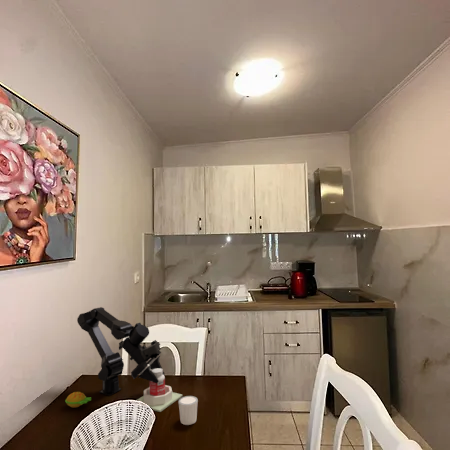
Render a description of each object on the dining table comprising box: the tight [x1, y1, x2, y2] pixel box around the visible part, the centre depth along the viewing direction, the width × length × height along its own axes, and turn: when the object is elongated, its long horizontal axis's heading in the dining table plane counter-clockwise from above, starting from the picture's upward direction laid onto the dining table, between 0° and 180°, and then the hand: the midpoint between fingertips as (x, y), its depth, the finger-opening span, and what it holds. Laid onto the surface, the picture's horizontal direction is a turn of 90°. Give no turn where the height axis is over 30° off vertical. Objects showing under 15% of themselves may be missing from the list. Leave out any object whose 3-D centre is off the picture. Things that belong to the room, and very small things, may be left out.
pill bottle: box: [148, 368, 166, 396], centre depth 129 cm, size 6×6×11 cm
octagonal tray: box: [136, 384, 183, 413], centre depth 128 cm, size 14×14×4 cm
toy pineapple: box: [64, 391, 92, 409], centre depth 125 cm, size 7×10×5 cm
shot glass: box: [178, 395, 199, 426], centre depth 113 cm, size 7×7×7 cm
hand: (160, 378), depth 129 cm, fingers open, 7 cm apart
